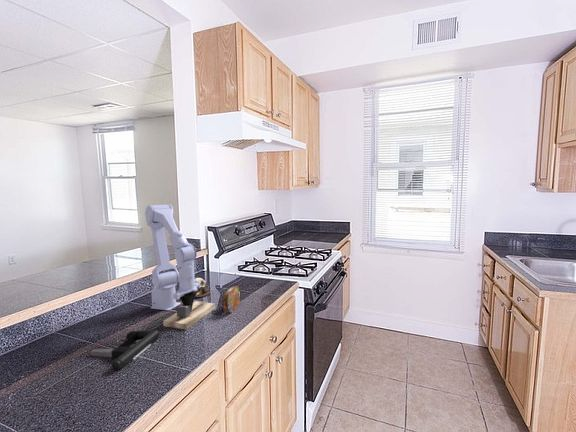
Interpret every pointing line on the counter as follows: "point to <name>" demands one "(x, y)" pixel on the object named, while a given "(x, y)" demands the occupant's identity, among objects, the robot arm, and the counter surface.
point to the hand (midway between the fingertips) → (188, 310)
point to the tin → (231, 299)
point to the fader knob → (183, 311)
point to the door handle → (128, 348)
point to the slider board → (196, 314)
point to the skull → (201, 288)
